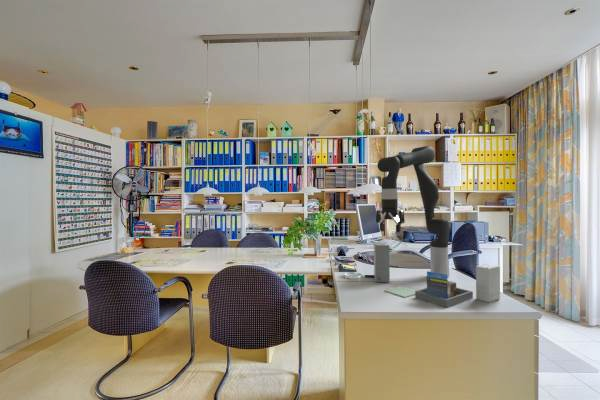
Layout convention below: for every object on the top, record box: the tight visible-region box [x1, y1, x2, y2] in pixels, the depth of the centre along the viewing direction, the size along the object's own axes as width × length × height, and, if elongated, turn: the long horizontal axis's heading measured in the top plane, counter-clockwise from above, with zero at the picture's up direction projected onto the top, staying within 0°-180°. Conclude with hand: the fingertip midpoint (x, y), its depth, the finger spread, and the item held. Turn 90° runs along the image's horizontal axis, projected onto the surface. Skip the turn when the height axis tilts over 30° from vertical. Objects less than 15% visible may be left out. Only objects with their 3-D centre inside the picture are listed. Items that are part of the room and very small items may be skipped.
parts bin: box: [414, 286, 474, 308], centre depth 131 cm, size 20×15×3 cm
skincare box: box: [475, 263, 501, 303], centre depth 129 cm, size 8×6×15 cm
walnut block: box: [448, 280, 457, 298], centre depth 135 cm, size 5×5×6 cm
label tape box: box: [426, 270, 450, 299], centre depth 129 cm, size 9×4×12 cm, turn 47°
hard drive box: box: [373, 241, 390, 283], centre depth 164 cm, size 16×8×20 cm, turn 168°
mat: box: [383, 285, 417, 298], centre depth 140 cm, size 12×12×1 cm
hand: (390, 231), depth 141 cm, fingers open, 8 cm apart
